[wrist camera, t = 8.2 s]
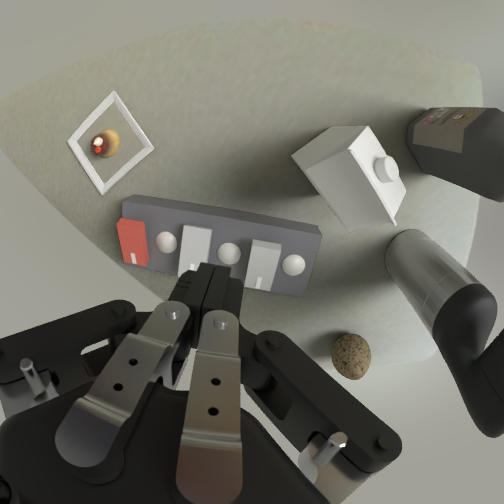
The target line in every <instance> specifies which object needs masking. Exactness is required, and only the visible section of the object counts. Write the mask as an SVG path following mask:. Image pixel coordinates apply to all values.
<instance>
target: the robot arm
mask: <svg viewBox="0 0 504 504" xmlns="http://www.w3.org/2000/svg"><path fill="white" fill-rule="evenodd" d="M385 265H386V269H387V271H388V272H389V274H390V275H391V276H392V278H393V279H394V281H395V282H396V284H397V285H398V287H399V288H400V289H401V291H402V292H403V294H404V295H405V297H406V298H407V299H408V301H409V302H410V304H411V305H412V307H413V308H414V310H415V311H416V313H417V314H418V316H419V317H420V319H421V320H422V322H423V324H424V325H425V326H426V328H427V330H428V331H429V333H430V334H431V336H432V338H433V339H434V341H435V342H436V344H437V346H438V348H439V350H440V352H441V354H442V356H443V358H444V360H445V362H446V363H447V365H448V367H449V369H450V371H451V373H452V375H453V377H454V379H455V382H456V384H457V386H458V389H459V391H460V393H461V396H462V398H463V400H464V403H465V405H466V407H467V410H468V412H469V414H470V416H471V418H472V419H473V421H474V423H475V425H476V426H477V427H478V429H479V430H480V431H481V432H482V433H483V434H485V435H486V436H488V437H491V438H496V437H498V436H500V435H502V434H503V433H504V329H503V330H502V331H501V332H500V333H499V336H497V337H496V338H495V339H494V341H493V342H492V343H491V344H490V345H489V346H488V347H487V348H486V349H485V350H484V348H485V345H486V342H487V340H488V337H489V335H490V333H491V331H492V328H493V326H494V323H495V320H496V316H497V302H496V300H495V298H494V296H493V295H492V293H491V292H489V290H488V289H487V288H486V287H485V286H484V285H482V284H481V283H480V282H479V281H478V280H477V279H476V278H475V277H474V276H473V275H472V274H471V273H470V272H468V270H466V269H465V268H464V267H463V266H462V265H461V264H460V263H459V262H458V261H456V260H455V259H454V258H453V257H452V256H451V255H450V254H449V253H447V252H446V251H445V250H444V249H443V248H441V247H440V246H439V245H438V244H437V243H436V242H434V241H433V240H432V239H431V238H430V237H428V236H427V235H426V234H425V233H423V232H421V231H419V230H414V229H411V230H406V231H404V232H402V233H400V234H399V235H397V236H396V237H395V238H394V239H393V240H392V242H391V243H390V245H389V247H388V249H387V251H386V255H385ZM230 274H231V267H227V266H222V265H216V264H210V263H205V262H201V263H200V265H199V267H198V269H197V271H193V270H187V271H186V272H184V273H182V274H181V276H180V278H179V280H178V282H177V284H176V286H175V287H174V289H173V291H172V293H171V295H170V297H169V299H168V301H165V302H162V303H160V304H159V305H158V306H157V307H156V308H155V310H154V311H152V312H136V309H135V306H134V305H133V304H132V303H131V302H129V301H126V300H114V301H111V302H107V303H104V304H101V305H98V306H95V307H93V308H89V309H86V310H84V311H81V312H78V313H75V314H72V315H69V316H66V317H63V318H60V319H57V320H54V321H51V322H48V323H45V324H42V325H40V326H37V327H34V328H31V329H28V330H25V331H22V332H19V333H16V334H13V335H10V336H7V337H4V338H1V339H0V400H1V404H2V407H3V410H4V414H5V417H6V420H5V421H4V422H3V423H2V424H1V426H0V504H340V503H341V502H342V501H344V500H345V499H346V498H347V497H348V496H349V495H350V494H352V492H354V491H355V490H356V489H357V488H358V487H359V486H360V485H361V484H362V483H363V482H365V481H366V480H367V479H369V478H371V477H372V476H373V475H375V474H376V473H378V472H379V471H380V470H382V469H383V468H384V467H386V466H387V465H389V464H390V463H391V462H392V461H394V460H395V459H396V458H397V457H398V456H399V455H400V453H401V451H402V442H401V439H400V437H399V435H398V434H397V433H396V432H395V431H394V430H392V429H391V428H390V427H389V426H388V425H386V424H385V423H384V422H383V421H382V420H380V419H379V418H378V417H377V416H376V415H375V414H373V413H372V412H371V411H370V410H369V409H367V408H366V407H365V406H364V405H363V404H362V403H361V402H359V401H358V400H357V399H356V398H355V397H354V396H352V395H351V394H350V393H349V392H348V391H347V390H346V389H344V388H343V387H342V386H341V385H340V384H339V383H338V382H337V381H335V380H334V379H333V378H332V377H331V376H330V375H329V374H328V373H326V372H325V371H324V370H323V369H322V368H321V367H320V366H319V365H318V364H317V363H315V362H314V361H313V360H312V359H311V358H310V357H309V356H308V355H307V354H306V353H304V352H303V351H302V350H301V349H300V348H299V347H298V346H297V345H296V344H295V343H294V342H293V341H291V340H290V339H289V338H288V337H287V336H286V335H284V334H283V333H280V332H278V331H272V330H268V331H263V332H261V333H259V334H258V335H255V334H253V333H251V332H249V331H247V330H246V329H244V328H243V327H242V325H241V324H240V321H239V315H240V308H241V301H242V295H243V288H244V285H243V283H242V281H241V279H237V278H231V277H230ZM105 339H108V345H105V346H103V347H101V348H98V349H96V350H93V351H90V352H88V353H85V354H83V355H81V351H82V350H83V349H84V348H85V347H87V346H90V345H92V344H95V343H97V342H100V341H102V340H105ZM197 347H198V350H197V351H196V355H195V360H194V365H193V371H192V378H191V383H190V389H189V391H178V390H177V391H176V387H177V385H178V383H179V380H180V378H181V375H182V373H183V371H184V368H185V366H186V364H187V361H188V355H189V352H190V349H191V348H195V349H197ZM240 383H241V384H243V385H244V389H245V391H246V392H247V394H248V395H249V396H250V397H251V398H252V400H253V401H254V402H255V403H256V404H257V406H258V407H259V408H260V409H261V410H262V411H263V413H265V415H266V416H267V417H268V418H269V419H270V420H271V422H272V423H273V424H274V425H275V426H276V427H277V428H278V429H279V431H280V432H281V433H282V434H283V435H284V436H285V437H286V438H287V439H288V440H289V441H290V443H291V444H292V445H293V446H294V447H295V448H296V449H297V450H298V451H299V452H300V455H299V458H298V464H299V467H300V469H301V471H302V472H303V473H304V474H303V473H302V472H301V471H300V469H299V468H298V467H297V466H296V465H295V464H294V463H293V461H291V459H290V458H289V457H288V456H287V455H286V454H285V452H284V451H283V450H282V449H281V447H280V446H279V445H278V444H277V443H276V442H275V440H274V439H273V438H272V437H271V435H270V434H269V433H268V432H267V430H266V429H265V428H264V427H263V425H262V424H261V423H260V422H259V421H258V420H257V419H256V418H255V417H254V416H252V415H251V414H250V413H249V412H247V411H246V410H244V409H242V408H240Z"/></svg>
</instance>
